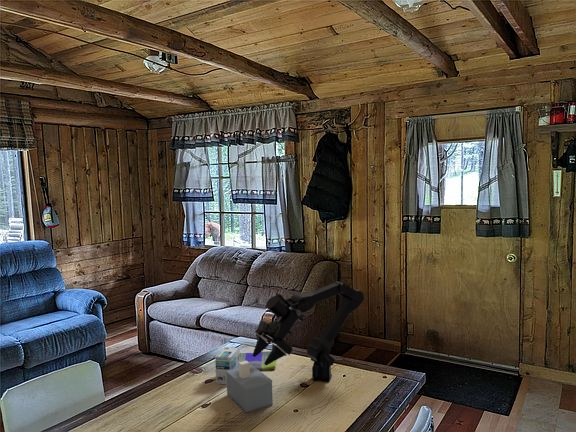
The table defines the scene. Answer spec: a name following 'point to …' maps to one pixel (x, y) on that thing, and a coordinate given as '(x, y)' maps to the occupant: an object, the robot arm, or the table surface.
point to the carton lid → (248, 376)
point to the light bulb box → (226, 363)
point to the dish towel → (258, 360)
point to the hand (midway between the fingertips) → (259, 360)
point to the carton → (249, 396)
